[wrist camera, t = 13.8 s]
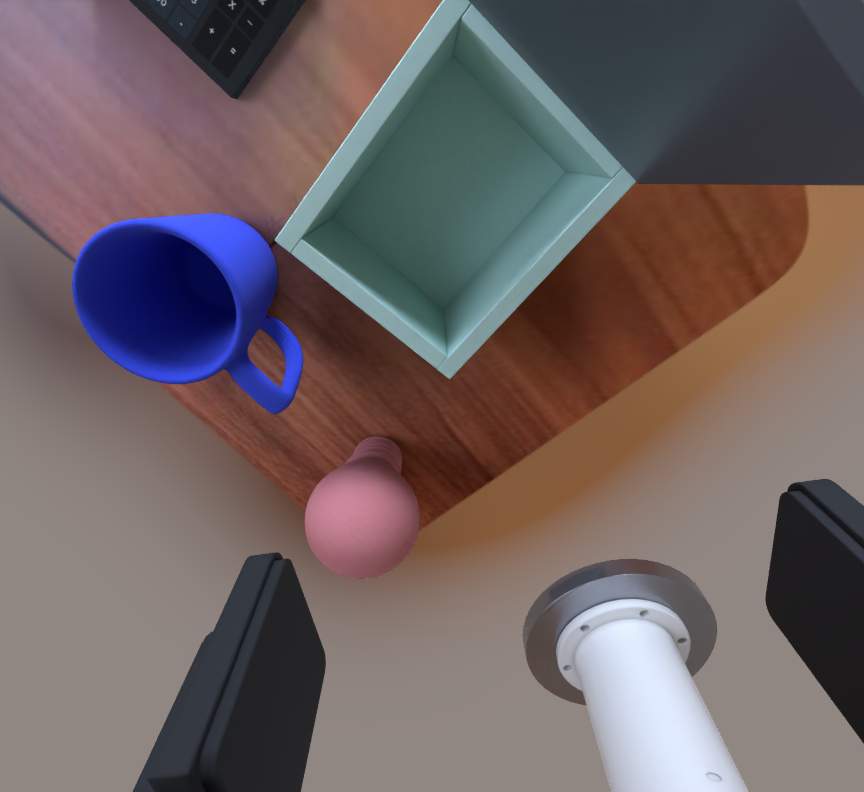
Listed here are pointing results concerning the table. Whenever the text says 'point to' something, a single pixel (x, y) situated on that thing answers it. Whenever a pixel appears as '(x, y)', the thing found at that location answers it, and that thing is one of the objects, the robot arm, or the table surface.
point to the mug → (185, 301)
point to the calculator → (223, 33)
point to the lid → (704, 83)
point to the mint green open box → (454, 192)
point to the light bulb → (363, 513)
